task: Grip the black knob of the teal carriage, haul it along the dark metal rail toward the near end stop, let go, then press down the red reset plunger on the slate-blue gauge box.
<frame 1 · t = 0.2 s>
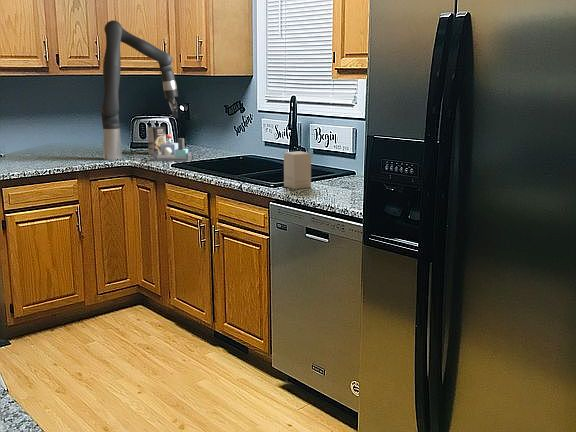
hand: (175, 117, 367), 22 cm above the worktop, tool pointing down, fingers open, 8 cm apart
coffee box: (157, 154, 380), on the worktop
plunger: (169, 139, 363), point 10 cm above the worktop, slide at 0.0 cm
gauge box: (170, 157, 365), on the worktop
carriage: (181, 148, 352), point 7 cm above the worktop, slide at 5.5 cm
rail: (172, 160, 354), on the worktop
supplement box: (297, 187, 277), on the worktop
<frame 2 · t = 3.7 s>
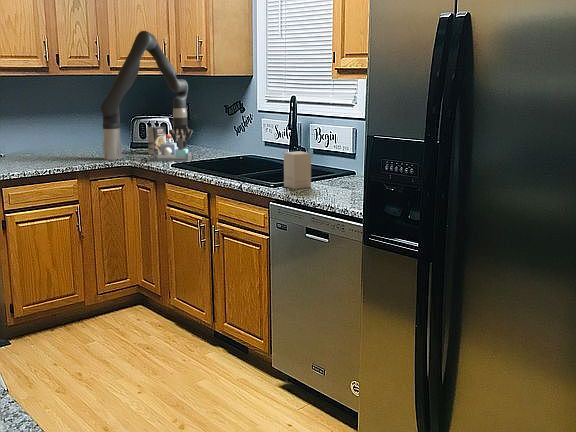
hand: (181, 147, 352), 7 cm above the worktop, tool pointing down, fingers closed on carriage, 2 cm apart
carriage: (181, 148, 352), point 7 cm above the worktop, slide at 5.5 cm, touching gripper
everything else where it was.
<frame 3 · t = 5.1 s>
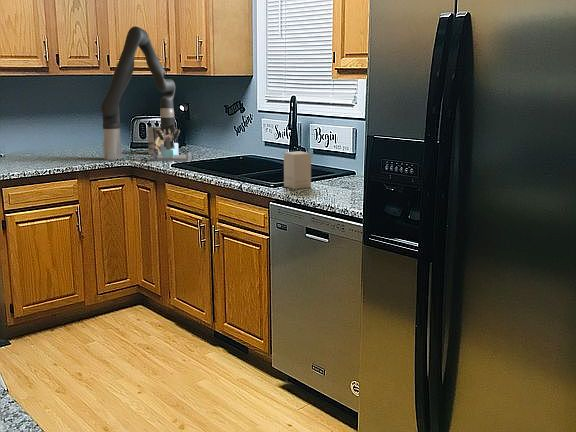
hand: (168, 147, 353), 7 cm above the worktop, tool pointing down, fingers closed on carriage, 2 cm apart
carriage: (169, 147, 353), point 7 cm above the worktop, slide at -1.7 cm, touching gripper
everything else where it was.
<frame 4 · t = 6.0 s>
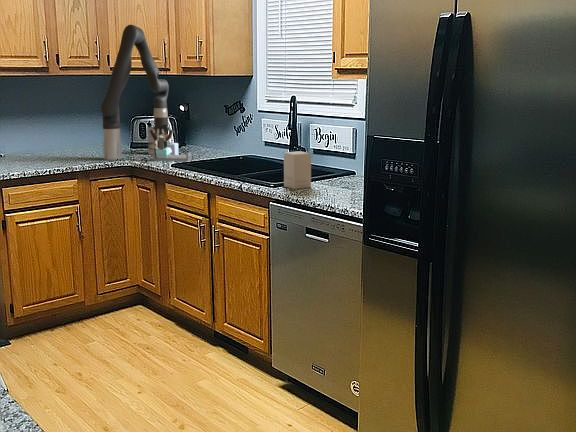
hand: (162, 147, 353), 7 cm above the worktop, tool pointing down, fingers closed on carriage, 2 cm apart
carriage: (162, 147, 353), point 7 cm above the worktop, slide at -5.4 cm, touching gripper
everything else where it was.
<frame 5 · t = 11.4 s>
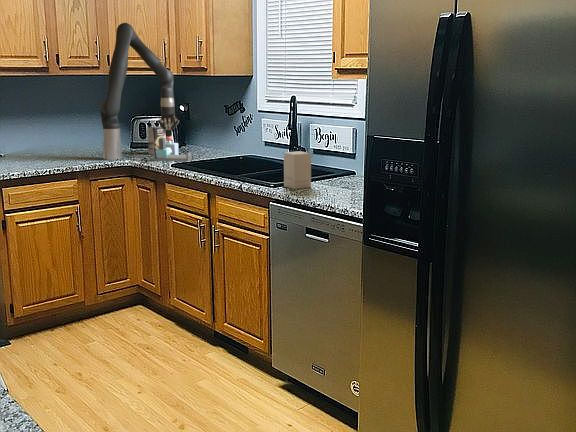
hand: (169, 136, 363), 12 cm above the worktop, tool pointing down, fingers closed
plunger: (169, 141, 363), point 9 cm above the worktop, slide at 1.1 cm, touching gripper
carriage: (162, 147, 353), point 7 cm above the worktop, slide at -5.4 cm
everything else where it was.
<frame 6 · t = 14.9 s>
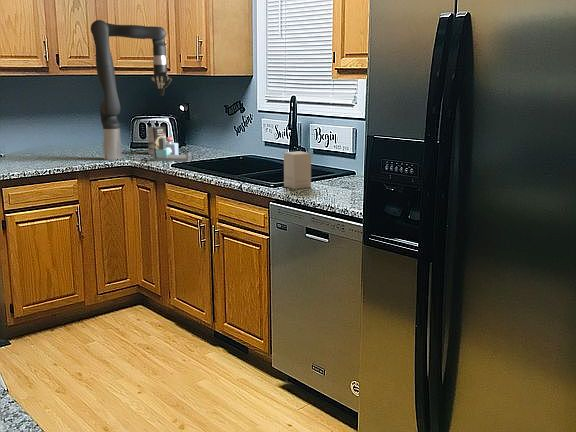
hand: (161, 95, 360), 35 cm above the worktop, tool pointing down, fingers closed
plunger: (169, 142, 364), point 9 cm above the worktop, slide at 1.8 cm
everything else where it was.
at the end: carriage slide at -5.4 cm; plunger slide at 1.8 cm; the gripper is holding nothing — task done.
